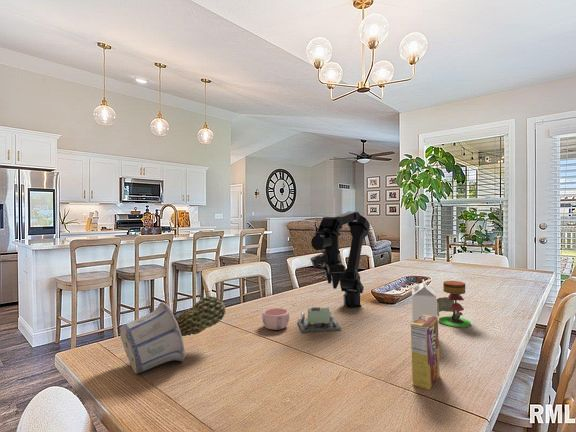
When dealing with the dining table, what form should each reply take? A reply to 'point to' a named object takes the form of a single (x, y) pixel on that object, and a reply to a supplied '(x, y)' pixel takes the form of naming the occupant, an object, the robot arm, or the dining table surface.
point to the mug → (275, 318)
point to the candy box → (425, 351)
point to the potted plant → (167, 332)
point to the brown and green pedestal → (452, 304)
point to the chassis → (318, 324)
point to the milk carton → (423, 301)
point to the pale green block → (318, 315)
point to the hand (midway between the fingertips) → (332, 285)
